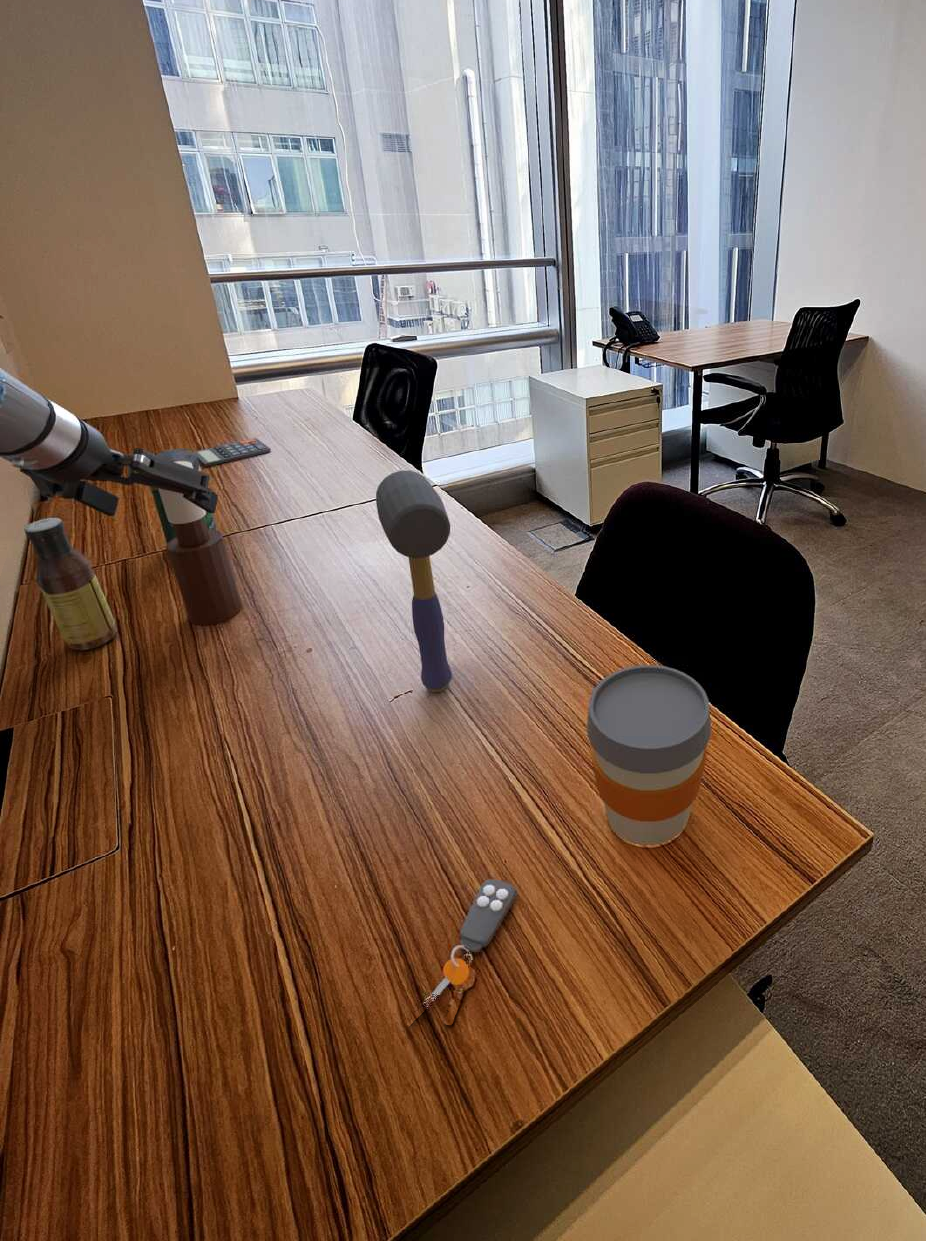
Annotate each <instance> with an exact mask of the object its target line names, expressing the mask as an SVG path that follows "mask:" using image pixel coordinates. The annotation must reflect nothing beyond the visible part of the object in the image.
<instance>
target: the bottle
mask: <svg viewBox="0 0 926 1241" xmlns="http://www.w3.org/2000/svg"><path fill="white" fill-rule="evenodd" d="M172 524H173V523H172ZM173 527H174V530H175V534H176V538H174V539H172V540H171V541H170V542H169V543H166V546H165V549H166V552H167V555H168V558H169V562H170V565H171V567H172V571H173V573H174V576H175V579H176V583H177V586H178V589H179V592H180V595H181V599H182V601H183V604H184V608H185V610H186V613H187V617H188V618H189V621H190V622H191V624H193V625H195V626H211V625H217V624H220V623H223V622H226V621H227V620H230V619H232V618H234V617H235V616H236V615H238V614H239V613H240V611H242V608H243V605H242V598H241V596H240V592H239V589H238V585H237V580H236V578H235V574H234V571H233V567H232V563H231V561H230V557H229V554H228V550H227V546H226V542H225V540H224V536H223V533H222V532H221V531H219V530H218V531H216V530H208V529H207V525H206V522H205V518H204V517H202V518H201V519H199V520H196V521H193V522H189V523H184V524H173Z"/></svg>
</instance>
